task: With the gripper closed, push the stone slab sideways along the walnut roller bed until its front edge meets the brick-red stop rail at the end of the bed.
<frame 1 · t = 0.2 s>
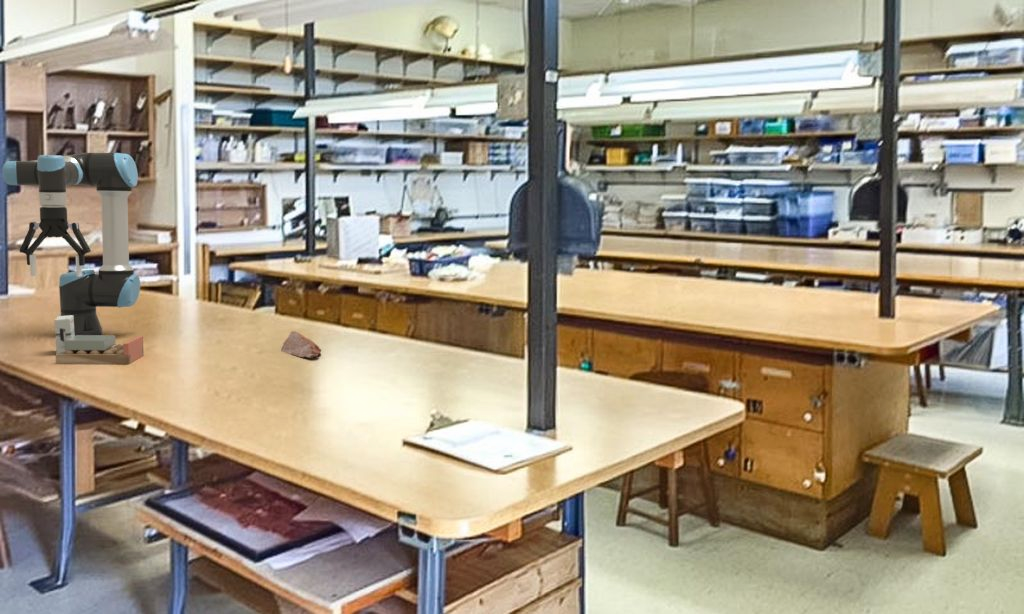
hand: (56, 276, 305), 27 cm above the table, fingers open, 13 cm apart
stone slab: (90, 347, 312), point 4 cm above the table, touching roller bed
rock: (308, 355, 329), on the table
stop rail: (133, 359, 314), on the table
roller bed: (100, 359, 313), on the table
ink box: (66, 353, 323), on the table
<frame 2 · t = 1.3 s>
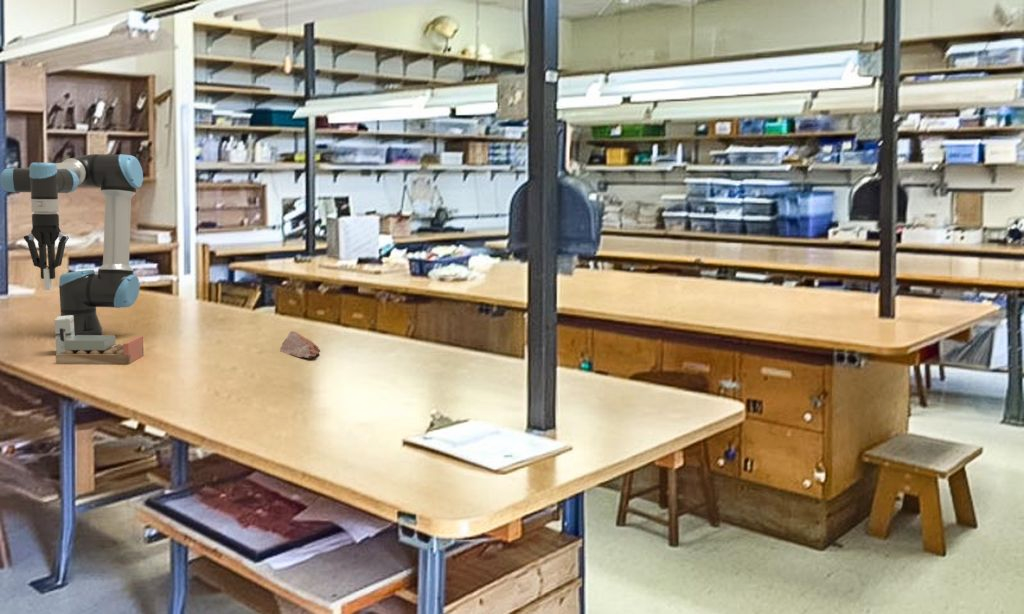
hand: (48, 289, 309), 22 cm above the table, fingers closed
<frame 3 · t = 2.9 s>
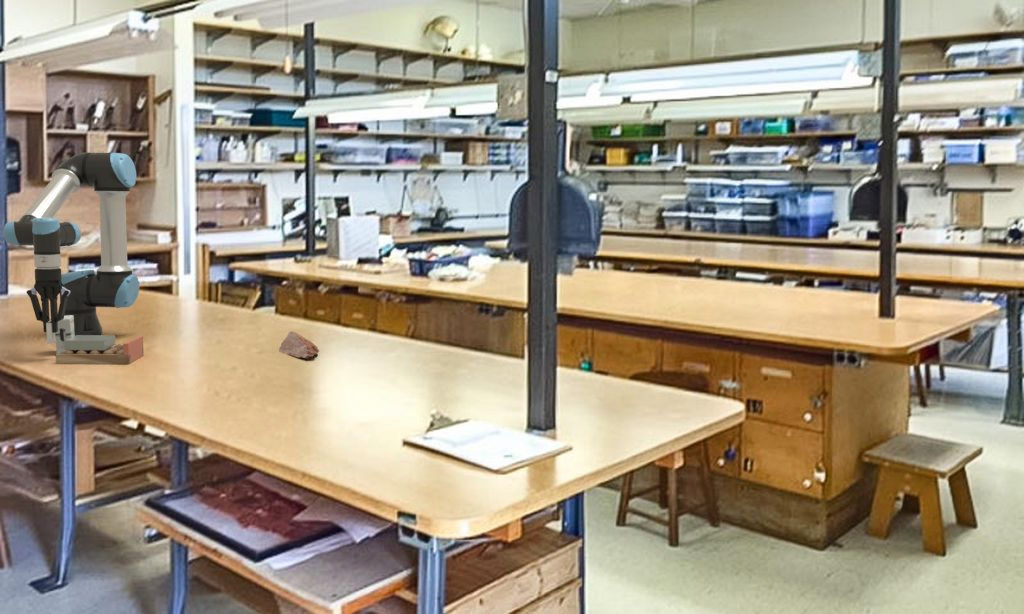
hand: (51, 342, 311), 5 cm above the table, fingers closed
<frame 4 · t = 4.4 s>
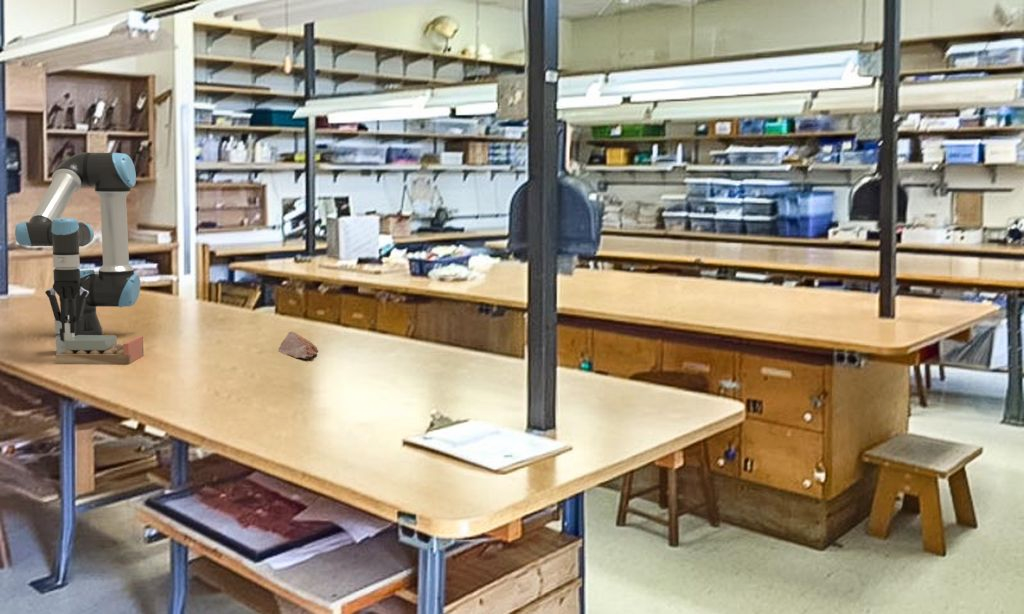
hand: (69, 343, 312), 5 cm above the table, fingers closed
stone slab: (91, 347, 312), point 4 cm above the table, touching gripper, roller bed
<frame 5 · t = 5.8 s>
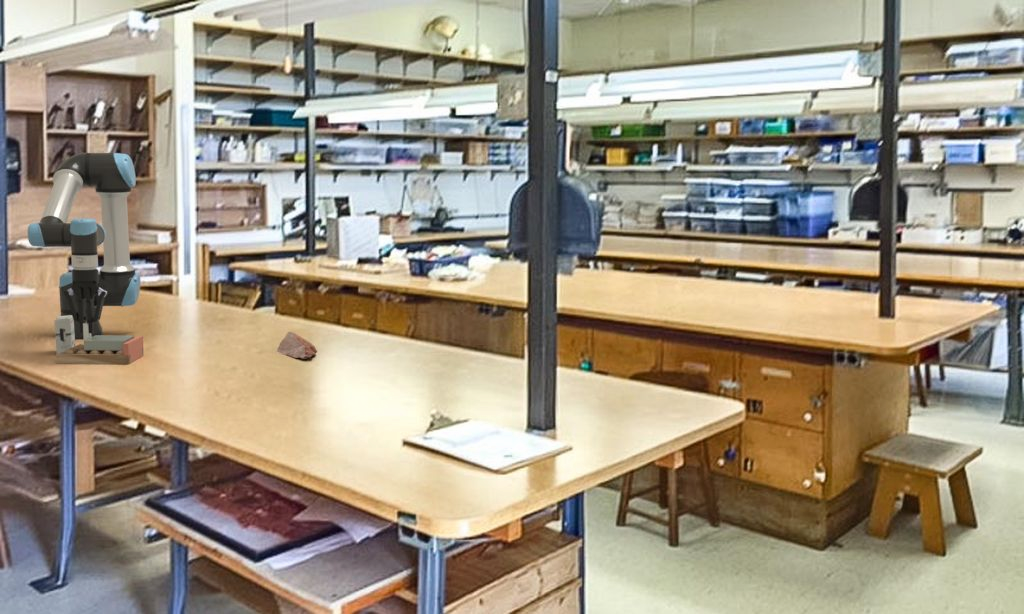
hand: (87, 343, 312), 5 cm above the table, fingers closed
stone slab: (109, 347, 313), point 4 cm above the table, touching gripper, roller bed
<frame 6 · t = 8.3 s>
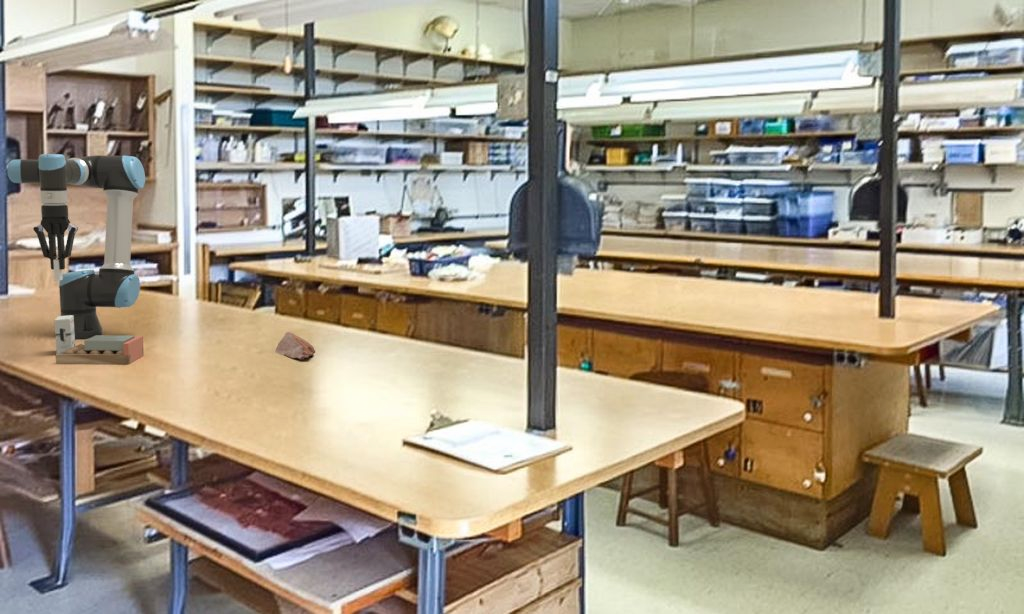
hand: (58, 279, 312), 25 cm above the table, fingers closed
stone slab: (110, 347, 313), point 4 cm above the table, touching roller bed
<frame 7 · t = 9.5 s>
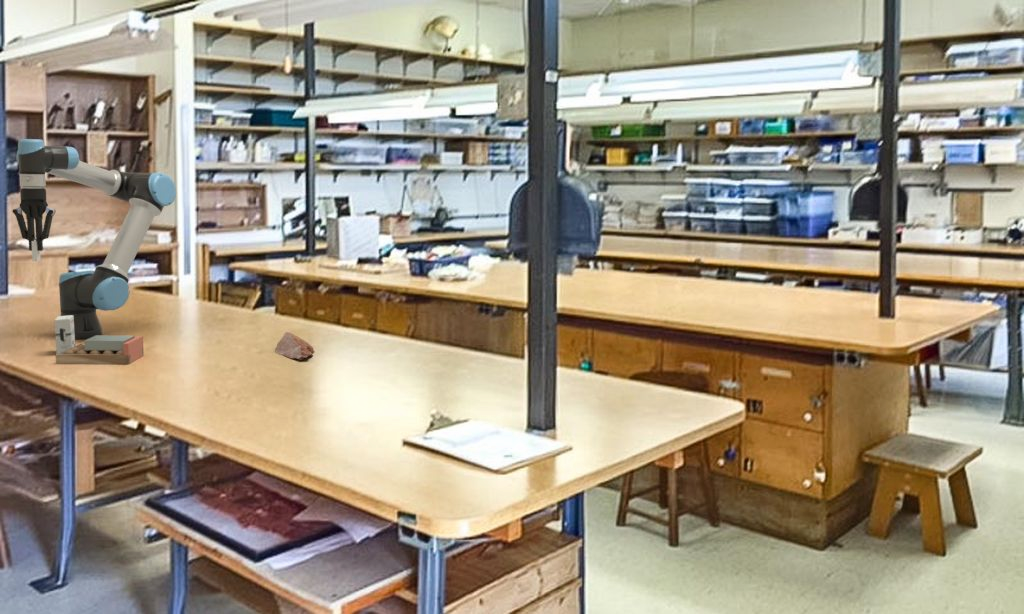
hand: (36, 260, 324), 29 cm above the table, fingers closed
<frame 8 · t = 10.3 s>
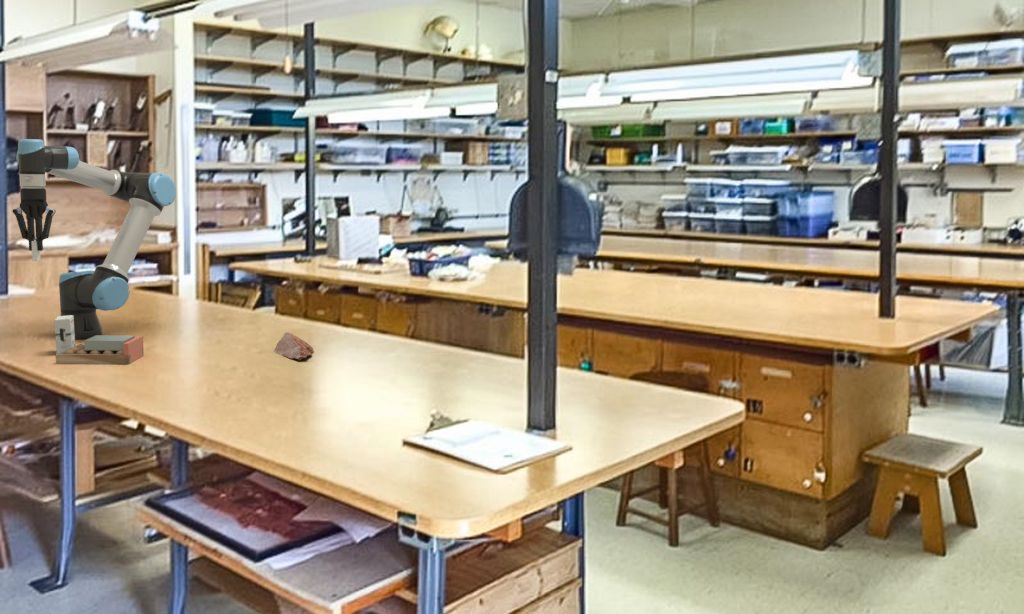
hand: (36, 260, 324), 29 cm above the table, fingers closed
at the end: stone slab inside the target area (0.3 cm from its centre), point 3.9 cm above the table; stone slab tilted 0°; stone slab touching roller bed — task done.
